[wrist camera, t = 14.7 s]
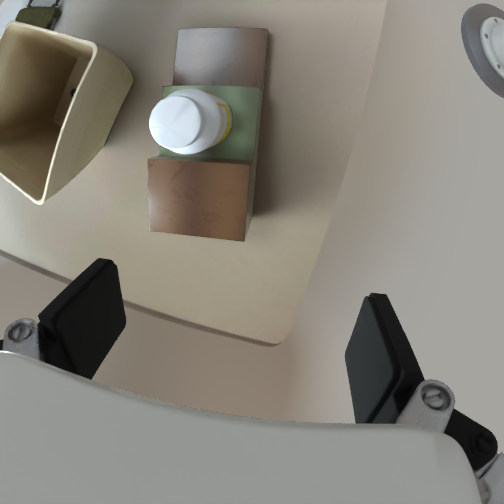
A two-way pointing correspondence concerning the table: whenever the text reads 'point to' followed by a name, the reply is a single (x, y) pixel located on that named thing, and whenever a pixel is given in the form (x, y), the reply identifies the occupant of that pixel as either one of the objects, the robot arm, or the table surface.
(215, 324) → the table surface
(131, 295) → the table surface
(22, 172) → the flower pot
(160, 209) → the tier shelf
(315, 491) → the robot arm
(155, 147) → the table surface
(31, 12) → the landmine
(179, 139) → the pill bottle
